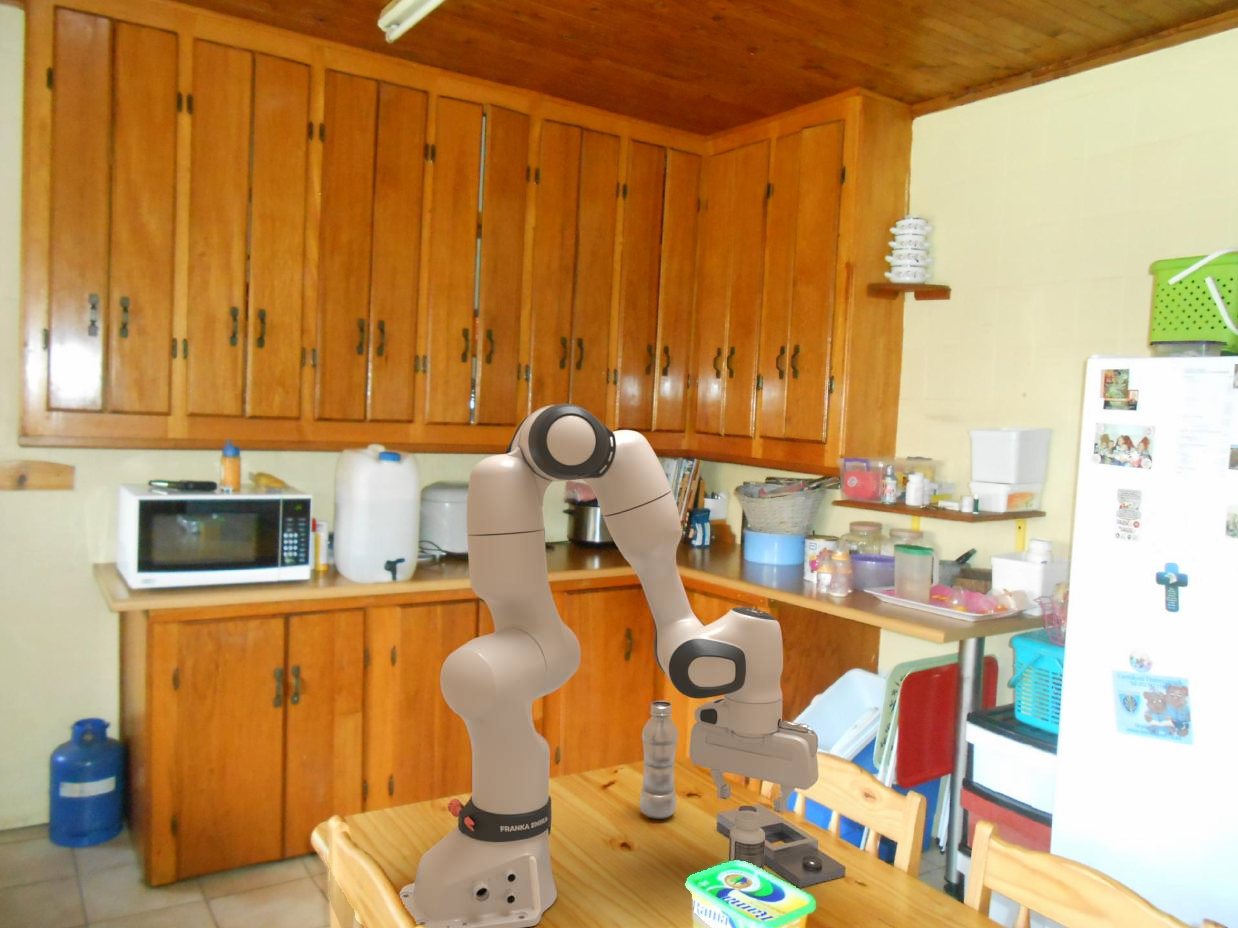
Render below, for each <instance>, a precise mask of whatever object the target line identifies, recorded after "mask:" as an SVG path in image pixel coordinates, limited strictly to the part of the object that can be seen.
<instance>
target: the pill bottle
mask: <svg viewBox="0 0 1238 928" xmlns="http://www.w3.org/2000/svg"><path fill="white" fill-rule="evenodd" d="M761 824H762V823H761V815H760V814H759V813H757V812H754V811H739V812H737V813H736V815H735V826H734V827H732V828H731V830H730V839H729V838H728V839H729V845H728V862H729V861H734V860H740V861H746V862H748V863H752V864H753V865H756V866H757V867H759V868H762V869H763V870H764V869H765V864H764V851H765V833H764V831H763V830H762V829H761V828H760V827H761ZM764 871H765V870H764Z"/></svg>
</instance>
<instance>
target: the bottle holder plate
mask: <svg viewBox="0 0 1238 928" xmlns="http://www.w3.org/2000/svg"><path fill="white" fill-rule="evenodd" d="M738 807H739V808H734V809H728V810H724V811H718V812H717V813H716V814H717V815H716V820H717V821H716V831H718V832H719V833H721V834H722V835H723V836H725V837H727V838H728V839H730V830H731V828H732V827H734V826H735V815H736V813H737V812H739V811H754V812H757V813H759V814H760V815H761V823H762V824H761V827H760V828H761V829H762V830H763V831H764V833H765V851H764V865H766V866H767V867H768V868H770V869H772V870H773V871H774V872H775V873H777V874H779V875H780V876H781V877H782V878H784V879H785V880H787V881H788V882H789V883H791V884H793V885H794V886H795V885H796V886H795V887H797V886H798V887H799V888H798V887H797V888H798V889H801V888H806V887H809V886H814V885H817V884H816V883H818V884H821V882H822V883H824V882H823V881H825V882H828V880H829V881H831V880H830V879H833V880H836V879H835V878H837V879H840V878H839V877H841V878H844V877H843V876H845V877H846V866H845V865H843V864H842V863H840V862H838V861H837V860H835V859H834V858H832V857H830V856H829V855H828V854H826V853H825V852H823V851H821V850H820V849H819V840H818V839H817V838H816V837H814V836H813V835H811V834H809V833H808V832H806V831H804V830H803V829H801V828H800V827H798V826H797V825H794V824H793V823H791V822H790V821H788V820H787V819H785V818H783V817H782V816H780V815H778V814H777V812H775V811H773V810H771V809H769V808H767V807H766V806H764V805H763V804H761V803H758V804H754V805H742V806H738ZM778 841H782V842H784V843H782V844H778V845H774V844H772V843H774V842H778Z"/></svg>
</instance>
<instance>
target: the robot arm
mask: <svg viewBox="0 0 1238 928" xmlns="http://www.w3.org/2000/svg"><path fill="white" fill-rule="evenodd" d="M469 474H470V475H469V479H468V480H469V482H468V488H467V499H466V535H467V538H466V540H467V553H468V569H469V571H468V572H469V584H470V587H471V591H473V594H475V595H476V596H477V597H478V598H480V599H482V600H483V601H484V602H485V604H486V605H487V608H488V610H489V612H490V614H491V617H492V620H493V625H494V632H492V633H491V632H490V633H488V634H485V635H481V636H478V637H474V638H472V639H471V640H469V641H467V642H466V643H464V644H462V645H461V646H460V647H458V648H457V649H455V650H454V651H452V652H451V653H450V654H449V655H448V656H447V657H446V659H445V660H444V662H443V664H442V666H441V669H440V675H439V683H440V690H441V693H442V696H443V699H444V701H445V703H446V704H447V705H448V707H449V708H450V709H451V710H452V712H454V713H455V714H456V715H458V716H459V717H460V718H461V719H462V720H463V722H464V725H465V727H466V729H467V732H468V736H469V740H470V748H471V760H472V761H471V767H472V768H471V771H472V773H471V774H472V775H471V796H470V798H469V799H468V801H467V802H466V803H465V804H463V803H462V802H461V801H460V800H459V799H458V798H452V799H451V800H449V802H448V803H447V807H446V808H447V810H448V812H449V813H450V814H451V815H452V816H453V817H455V818H458V819H457V826H456V827H454V828H453V829H452V830H451V831H450V832H449V833H447V835H445V836H444V837H443V838H441V839H440V840H439V841H438V842H437V843H435V844H434V845H433V846H432V847H430V848H429V850H427V851H426V852H425V853H424V854H423V855H422V857H421V858H420V860H419V863H418V866H417V869H416V875H415V880H414V882H413V883H409V884H407V885H404V886H403V887H402V888H401V890H400V891H399V894H398V896H399V895H400V898H401V899H402V902H403V904H404V905H405V908H407V910H408V911H409V912H410V914H411V915H412V916H413V917H414V919H415V921H416V924H420V925H423V926H425V927H426V928H527V927H533V926H536V925H538V924H539V922H540V921H541V919H542V915H543V913H544V912H546V911H547V910H548V909H549V908H550V907H551V906H553V904H554V903H555V901H556V899H557V897H558V890H557V887H556V883H555V880H554V875H553V869H552V861H551V853H550V852H551V851H550V837H549V835H550V834H551V831H552V830H551V829H552V819H553V817H552V816H553V815H552V814H553V811H552V798H551V796H550V793H549V792H550V764H551V763H550V760H551V750H550V746H549V743H548V741H547V739H546V738H544V736H542V735H541V734H540V733H538V732H537V731H536V728H535V724H534V720H533V719H534V718H533V712H532V710H533V709H532V708H533V703H534V701H536V700H538V699H540V698H542V697H544V696H547V695H549V694H552V693H553V692H556V691H558V689H560V688H561V687H562V686H563V685H565V684H566V683H567V682H568V681H569V680H570V679H571V678H572V677H573V676H574V675H575V674H576V672H577V671H578V669H579V666H580V663H581V657H582V654H581V653H582V652H581V646H580V641H579V639H578V638H577V635H576V634H575V633H574V631H573V630H572V629H571V628H570V627H569V626H568V625H567V624H565V623H564V621H563V620H562V618H561V616H560V614H559V611H558V608H557V606H556V603H555V600H554V598H553V594H552V590H551V587H550V583H549V582H550V581H549V580H550V579H549V574H548V563H547V562H548V561H547V553H546V552H547V551H546V538H545V537H546V536H545V524H544V514H543V506H544V499H545V494H546V492H547V489H548V487H550V485H551V484H552V483H553V482H557V483H558V482H564V481H575V480H576V481H577V480H582V481H583V482H584V483H586V484H587V485H588V486H589V487H590V489H591V490H592V492H593V494H594V496H596V500H597V504H598V506H599V509H600V512H601V515H602V517H603V520H604V523H605V525H606V528H607V529H608V532H609V534H610V536H611V538H612V540H613V542H614V544H615V546H616V547H617V549H618V550H619V552H620V553H621V555H622V556H623V558H624V559H625V560H626V562H627V563H628V564H629V565H630V567H631V568H632V569H633V571H634V572H635V574H636V576H637V578H638V580H639V582H640V585H641V589H642V591H643V593H644V596H645V599H646V602H647V606H648V607H649V611H650V613H651V616H652V619H653V623H654V639H653V653H654V658H655V661H656V664H657V666H658V667H659V669H660V670H661V671H662V672H663V673H664V674H665V675H666V676H667V678H668V679H669V681H670V682H671V684H672V686H674V688H675V689H676V690H677V691H678V692H680V694H682V695H684V696H686V697H688V698H691V699H708V698H713V697H719V696H723V697H722V698H715V699H712V700H709V701H707V702H705V703H703V704H700V706H698V707H697V708H695V709H694V711H693V716H694V720H695V721H696V722H695V723H694V724H693V726H692V728H691V731H690V736H689V737H690V738H689V752H688V753H689V754H688V755H689V758H690V760H691V762H692V764H693V765H695V766H699V767H703V768H707V769H710V776H711V779H712V781H713V782H714V785H715V786H716V788H717V789H716V790H717V792H716V793H717V794H716V795H717V798H718V799H723V800H728V799H730V798H731V795H732V794H731V793H732V792H731V790H732V785H730V784H727V783H726V780H725V778H724V775H723V774H724V773H729V774H734V775H737V776H741V777H746V778H749V779H755V780H758V781H759V780H760V781H764V782H769V783H773V784H778V785H780V791H781V792H783V794H782V796H778V797H776V799H774V800H773V812H774V813H779V814H783V815H784V814H785V813H786V812H787V811H788V800H789V798H790V797H791V795H793V793H794V791H795V790H796V789H798V790H804V791H807V790H809V789H810V788H812V787H813V786H814V785H815V784H816V783H817V782H818V780H819V763H818V756H817V753H818V749H819V739H818V738H819V737H818V734H817V733H816V732H815V730H813V728H811V727H810V726H809V725H808V724H804V723H796V722H793V721H790V720H785V719H783V696H784V695H783V690H782V686H781V677H782V673H783V669H784V647H783V646H784V645H783V634H782V629H781V625H780V622H779V621H778V620H777V619H776V618H775V617H774V616H773V615H772V614H769V613H768V612H767V611H763V610H760V609H757V608H752V607H747V606H746V607H745V606H739V607H738V606H737V607H732V608H730V610H729V611H728V612H727V613H725V615H723V616H721V617H720V618H718V619H717V620H714V621H712V622H711V623H709V624H706V625H705V622H702V621H701V620H700V618H699V617H698V616H697V615H696V614H695V612H694V611H693V609H692V607H691V604H690V602H689V601H690V600H689V598H688V596H687V593H686V590H685V587H684V585H683V581H682V578H681V576H680V572H679V569H678V565H677V550H678V546H679V544H680V541H681V539H682V536H683V530H682V529H683V528H682V521H681V518H680V512H679V508H678V504H677V501H676V498H675V495H674V492H673V490H672V486H671V485H670V482H669V480H668V478H667V475H666V472H665V470H664V468H663V466H662V464H661V461H659V458H658V456H657V454H656V452H655V451H654V449H653V447H652V446H651V444H650V442H648V440H647V438H646V437H645V436H644V434H641V433H640V432H638V431H637V430H636V431H635V430H630V429H620V430H615V431H613V430H611V429H609V428H608V427H607V426H606V425H605V424H603V423H602V422H601V421H600V419H598V418H597V417H596V416H595V415H593V414H592V413H591V412H590V411H588V410H587V409H585V408H584V407H581V406H578V405H576V404H572V403H559V404H551V405H547V406H543V407H541V408H538V409H537V410H536V411H534V412H532V413H531V414H530V415H528V416H526V417H525V418H524V419H523V420H522V421H521V423H520V424H519V425H518V427H517V428H516V430H515V433H514V434H513V436H512V438H511V441H510V442H509V445H508V447H507V449H506V451H505V453H504V454H503V453H502V454H495V455H490V456H487V457H485V458H484V459H482V460H480V461H479V462H477V463H476V464H475V465H474V466H473V468H472V470H471V472H470V473H469Z"/></svg>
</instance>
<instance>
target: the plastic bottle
mask: <svg viewBox="0 0 1238 928" xmlns="http://www.w3.org/2000/svg"><path fill="white" fill-rule="evenodd" d="M672 706H673V705H672V702H669V701H666V700H655V701H652V702H651V703H650V712H649V715H650V718H649V719H648V720H647V722H646V723H645V724H644V726H643V729H642V733H641V739H642V740H641V741H642V749H643V763H644V764H643V776H642V777H643V778H642V787H641V791H640V795H639V796H640V797H639V806H640V811H641V812H642V814H643V815H644V816H645V817H646V818H649V819H655V820H664V819H668V818H670V817H671V816H673V814H674V813H675V811H676V808H677V807H676V806H677V795H676V790H675V760H676V759H675V758H676V752H677V747H678V739H679V733H678V732H679V731H678V729H677V726H676V724H675V723H674V721H673V720H672V718H671V716H672V715H673V711H672Z"/></svg>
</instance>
